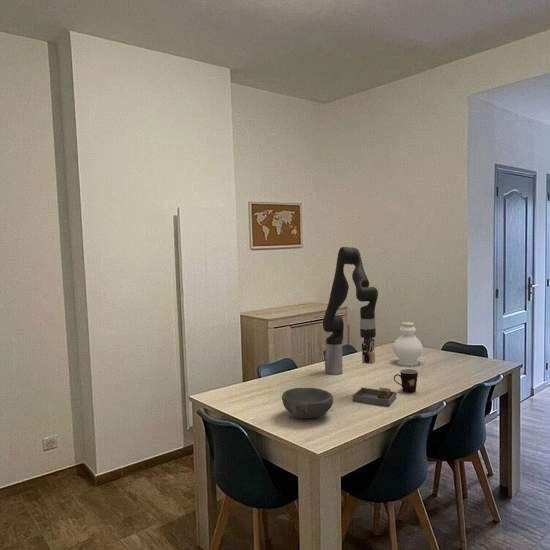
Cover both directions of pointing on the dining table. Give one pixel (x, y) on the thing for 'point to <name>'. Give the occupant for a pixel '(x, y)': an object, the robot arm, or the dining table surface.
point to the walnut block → (384, 393)
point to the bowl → (307, 402)
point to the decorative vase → (407, 345)
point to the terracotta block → (371, 358)
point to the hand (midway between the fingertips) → (368, 361)
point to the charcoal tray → (372, 397)
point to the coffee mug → (408, 380)
